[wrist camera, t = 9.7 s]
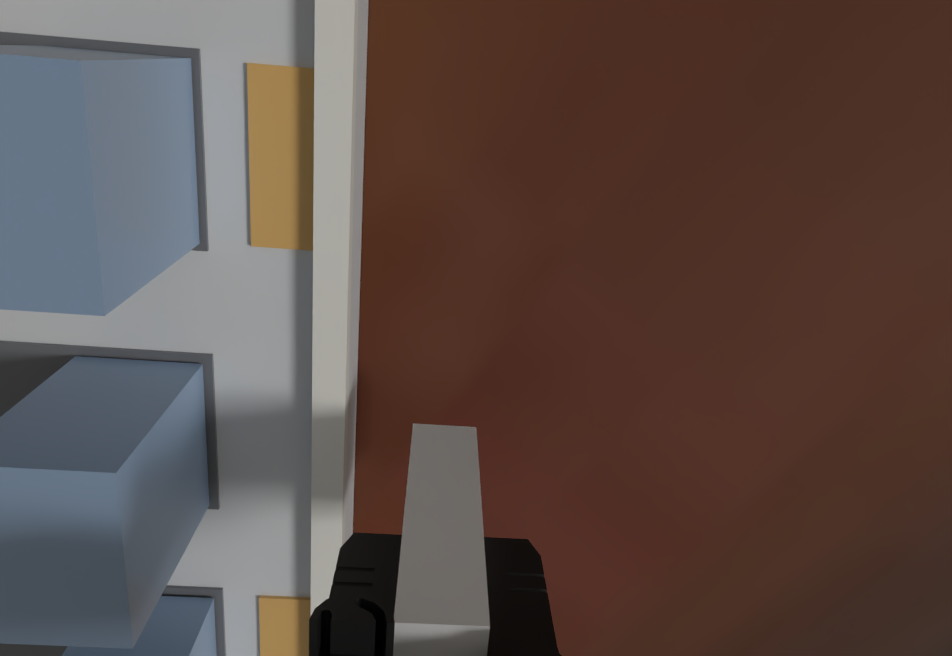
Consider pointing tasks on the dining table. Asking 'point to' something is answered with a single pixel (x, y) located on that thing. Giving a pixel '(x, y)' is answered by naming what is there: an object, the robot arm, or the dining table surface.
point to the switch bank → (242, 292)
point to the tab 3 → (169, 631)
